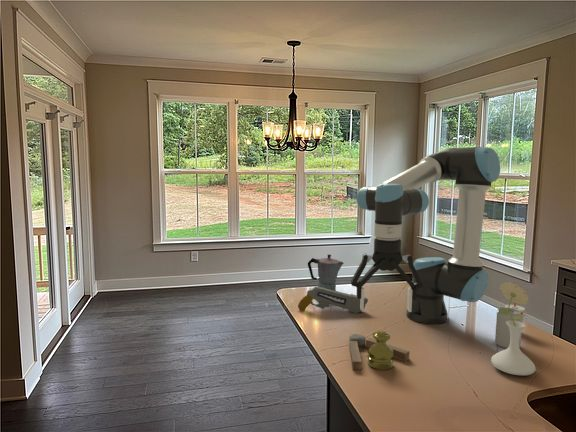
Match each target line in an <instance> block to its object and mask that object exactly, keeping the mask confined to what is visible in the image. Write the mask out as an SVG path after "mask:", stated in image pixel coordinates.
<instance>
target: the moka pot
mask: <svg viewBox="0 0 576 432" xmlns="http://www.w3.org/2000/svg"><path fill="white" fill-rule="evenodd" d="M331 257H332V254H327V257H324V258H323V257H321V258H313V257H312V258H311V259H310V260H309V261H308V262H307V267H308V270H309V273H310V277H311V279H312V280H317V279H318V283H317V287H322V288H326V289H330V290H334V291H337V290H336V289H337V288H336V287H337V286H336V282H337V281H336V280H337V278H338V274H339V271H340V269H341V268H342V266H343V265H344V262H343V261H342V260H338V259H336V258H331ZM312 263H314V264H317V272H318V273H317V275H318V278H317V277H314V273H313V269H312Z"/></svg>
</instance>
